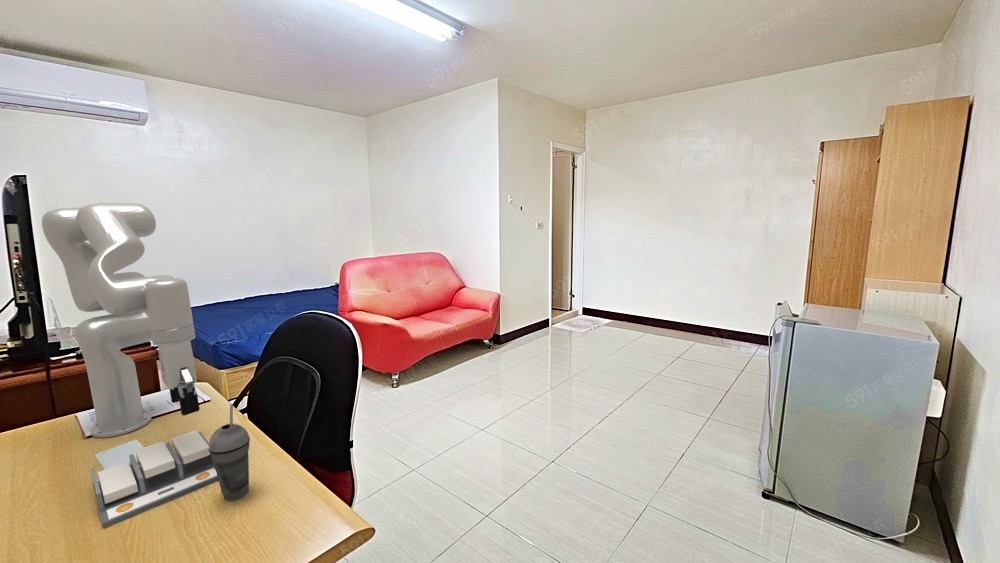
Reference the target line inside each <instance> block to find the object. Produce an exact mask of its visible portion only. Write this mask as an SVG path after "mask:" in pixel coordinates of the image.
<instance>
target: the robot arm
mask: <svg viewBox="0 0 1000 563" xmlns="http://www.w3.org/2000/svg"><path fill="white" fill-rule="evenodd" d="M41 227H42V228H41V229H42V231H43V234H44V237H45V240H46V241H47V243H48V244H49V245H50V247H51V249H53V251H54V253H55V254H56V255H57V256H58V258H59V259H60V261H61V262H62V266H63V268H64V271H65V275H66V280H67V283H68V286H69V289H70V294H71V297H72V300H73V302H74V305H75V307H76V308H77V309H78V310H80V311H82V312H83V313H84V312H85V313H93V312H95V313H96V312H102V311H105V312H107V313H108V314H105V315H104V314H103V315H100V316H96V317H91V318H87V319H85V320H83V321H80V323H79V324H77V325H76V327H75V329H74V336H75V340H76V343H77V345H78V348H79V349H80V351H81V354H82V357H83V360H84V364H85V367H86V372H87V377H88V383H89V387H90V392H91V393H90V394H91V397H92V398H91V399H92V403H93V408H94V414H95V418H96V419H95V420H96V424H95V425H93V426H92V427H91V428H90V435H91V436H92V437H94V438H99V439H101V438H110V437H111V438H112V437H117V436H121V435H125V434H128V433H131V432H134V431H136V430H138V429H140V428H143V427H145V426H146V425H148V424H149V423H150V421H151V420H152V414H151V413H150V412H146V411H144V409H143V403H142V398H141V397H142V396H141V392H140V386H139V380H138V375H137V370H136V369H137V368H136V363H135V361H134V359H133V358H131V357H130V356H129V355H127V354H125V353H123V352H122V351H121V350H122V349H124V348H128V347H131V346H136V345H140V344H145V343H148V342H152V345H153V346H157V349H158V357H159V358H158V359H159V366H160V373H161V380H162V382H163V383H164V384H165V386H166V387H167V388H168V389H169V393H170V394H169V395H170V399H171V403H173V404H175V403H179V407H180V414H181V416H187V415H190V414H193V413H197V412H199V411H200V410H201V409H200V403H199V397H198V392H197V388H196V386H195V383H196V382H197V371H196V370H197V369H196V365H195V359H194V354H193V348H192V343H191V341H192V340H194V339H195V338H196V333H195V325H194V320H193V313H192V312H193V311H192V306H191V305H192V304H191V299H190V294H189V293H190V292H189V287H188V283H187V281H186V280H185V279H184V278H178V277H174V276H171V275H168V274H167V275H166V274H162V275H160V274H159V275H152V276H145V275H144V274H142V273H141V272H136V271H128V272H127V271H125V272H118V271H121V270H122V269H125V268H126V267H129V266H131V265H133V264H135V263H137V261H140V259H141V258H142V257H143V255H144V254H145V244H144V243H143V241H142V240H141V239H140V238H145V237H149V236H151V235H152V234H154V233H155V231H156V229H157V221H156V218H155V215H154V214H153V212H152V211H151V210H150V209H149V207H146V206H145V205H143V204H142V203H141V204H140V203H131V202H130V203H125V202H123V203H121V202H119V203H115V202H114V203H113V202H112V203H111V202H109V203H107V202H106V203H104V202H101V203H99V202H98V203H91V204H88V205H84V206H82V207H65V208H64V207H63V208H57V209H52V210H48V211H47V212H45V213H44V214H43V215H42V218H41ZM87 241H88V242H87ZM116 272H118V273H116Z"/></svg>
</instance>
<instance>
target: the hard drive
mask: <svg viewBox="0 0 1000 563" xmlns="http://www.w3.org/2000/svg"><path fill="white" fill-rule="evenodd" d="M144 447H145V446H144V445H143V444H142V443H141V442H140V441H139V439H133V440H130V441H128V442H126V443H122V444H120V445H117V446H115V447H112V448H108V449H106V450H103V451H100V452H97V453H96V454H94V458H95V460H96V461H97V463H98V464H99V466H100V467H101V469H102V470H105V469H108V468H111V467H114V466H117V465H120V464H123V463H126V462H128V463H129V465H130V468H131V463H130V457H129V455H131V454H133V455H134V457H135V459H136V462H137V464H138V466H140V464H139V462H138V460H137V457H136V451H135V450H138V449H141V448H144ZM131 469H132V468H131Z"/></svg>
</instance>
